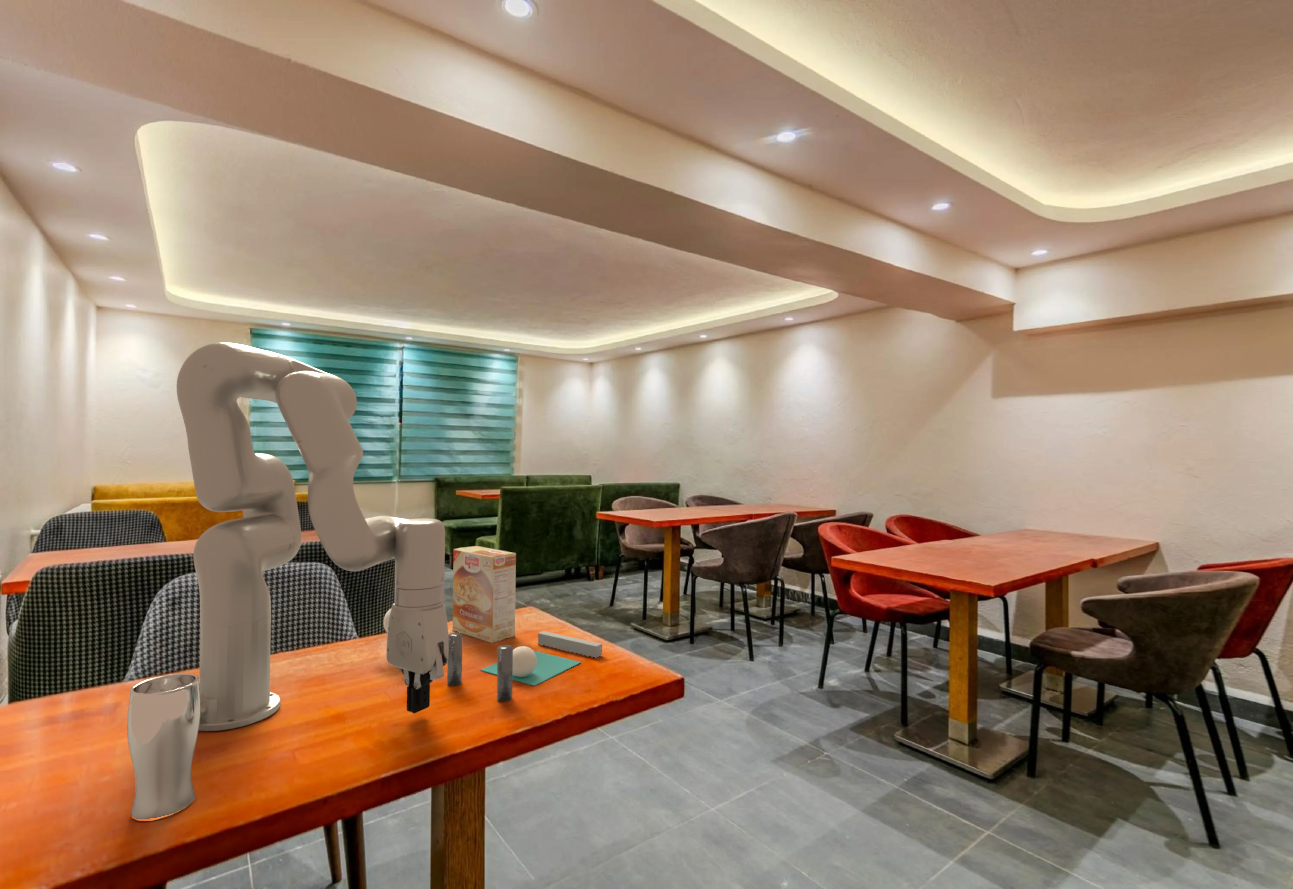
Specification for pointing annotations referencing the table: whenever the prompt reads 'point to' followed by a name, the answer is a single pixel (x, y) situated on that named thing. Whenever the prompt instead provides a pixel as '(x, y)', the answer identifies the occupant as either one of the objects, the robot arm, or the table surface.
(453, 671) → the left post
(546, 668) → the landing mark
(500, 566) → the coffeecake box
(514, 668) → the ball
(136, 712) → the beer glass
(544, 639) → the stopper wall
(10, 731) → the table surface
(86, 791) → the table surface
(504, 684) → the right post
